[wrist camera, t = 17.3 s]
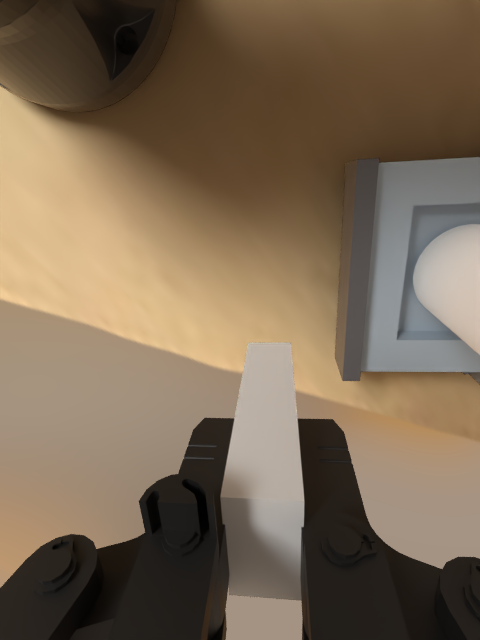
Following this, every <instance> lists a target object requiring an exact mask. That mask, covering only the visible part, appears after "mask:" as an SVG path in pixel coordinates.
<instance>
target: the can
mask: <svg viewBox="0 0 480 640" xmlns="http://www.w3.org/2000/svg"><path fill="white" fill-rule="evenodd" d="M413 286H414V290H415V293H416V296H417V298H418V300H419V301H420V303H421V304H422V305H423V306H424V307H425V308H426V309H427V310H428V311H429V312H431V313H432V314H433V315H434V316H435V317H436V318H437V319H439V320H440V321H441V322H442V323H443V324H444V325H445V326H447V327H448V328H449V329H450V330H451V331H452V332H454V333H455V334H456V335H457V336H458V337H459V338H460V339H462V340H463V341H464V342H465V343H466V344H467V345H469V346H470V347H471V348H472V349H473V350H474V351H476V352H477V353H478V354H479V355H480V224H468V225H462V226H458V227H455V228H452V229H450V230H448V231H446V232H444V233H442V234H441V235H439V236H438V237H436V238H435V239H434V240H433V241H431V242H430V243H429V244H428V246H427V247H426V248H425V249H424V250H423V252H422V253H421V255H420V257H419V258H418V261H417V263H416V266H415V269H414V274H413Z"/></svg>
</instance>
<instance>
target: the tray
mask: <svg viewBox="0 0 480 640" xmlns="http://www.w3.org/2000/svg"><path fill="white" fill-rule="evenodd" d="M468 224H480V157H470V158H453V159H435V160H418V161H400V162H383V163H379V158H375V159H358V160H354V161H350V162H346V166H345V184H344V202H343V220H342V238H341V256H340V273H339V291H338V309H337V327H336V345H335V359H336V362H337V365H338V369H339V372H340V375H341V378H342V381H360V373H361V371H373V372H480V355H479V354H478V353H477V352H476V351H474V350H473V349H472V348H471V347H470V346H469V345H467V344H466V343H465V342H464V341H463V340H462V339H460V338H459V337H458V336H457V335H456V334H455V333H454V332H452V331H451V330H450V329H449V328H448V327H447V326H445V325H444V324H443V323H442V322H441V321H440V320H439V319H437V318H436V317H435V316H434V315H433V314H432V313H431V312H429V311H428V310H427V309H426V308H425V307H424V306H423V305H422V304H421V303H420V301H419V300H418V298H417V296H416V293H415V290H414V286H413V274H414V269H415V266H416V263H417V261H418V258H419V257H420V255H421V253H422V252H423V250H424V249H425V248H426V247H427V246H428V244H429V243H430V242H431V241H433V240H434V239H435V238H436V237H438V236H439V235H441V234H442V233H444V232H446V231H448V230H450V229H452V228H455V227H458V226H462V225H468Z"/></svg>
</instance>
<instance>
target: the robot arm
mask: <svg viewBox="0 0 480 640" xmlns="http://www.w3.org/2000/svg"><path fill="white" fill-rule="evenodd" d="M176 1H177V0H0V86H1V87H2V88H4V89H6V90H8V91H9V92H11V93H13V94H15V95H17V96H19V97H21V98H23V99H26V100H28V101H31V102H34V103H37V104H41V105H44V106H47V107H50V108H53V109H57V110H62V111H69V112H86V111H93V110H97V109H101V108H104V107H107V106H109V105H112V104H114V103H116V102H118V101H120V100H121V99H123V98H124V97H126V96H127V95H129V94H130V93H131V92H132V91H134V90H135V89H136V88H137V87H138V86H139V85H140V84H141V83H142V82H143V81H144V79H145V78H146V77H147V76H148V74H149V73H150V72H151V70H152V69H153V67H154V66H155V64H156V63H157V61H158V59H159V57H160V55H161V53H162V51H163V49H164V47H165V44H166V42H167V39H168V36H169V33H170V30H171V27H172V23H173V18H174V14H175V8H176ZM139 504H140V509H141V514H142V518H143V523H144V528H145V533H144V534H142V535H141V536H139V537H138V538H134V539H132V540H129V541H126V542H122V543H118V544H115V545H111V546H107V547H103V548H99V549H96V547H95V545H94V542H93V541H91V540H90V539H88V538H87V537H86V536H84V535H74V534H70V535H67V536H62V537H58V538H55V539H54V540H52V541H50V542H48V543H46V544H45V545H43V546H41V547H40V548H39V549H38V550H36V551H35V552H34V553H33V554H32V555H31V556H30V557H28V558H27V559H26V560H25V561H24V563H23V564H22V565H21V566H20V567H19V568H18V569H17V570H16V572H15V573H14V574H13V575H12V576H11V577H10V578H9V579H8V580H7V581H6V582H5V584H4V585H3V586H2V587H1V588H0V640H225V639H226V630H227V628H226V613H225V608H226V600H227V592H228V586H229V595H237V596H250V597H263V598H276V599H289V600H301V601H302V615H303V624H302V625H303V626H302V640H480V559H479V558H476V557H457V558H455V559H453V560H451V561H448V562H446V564H445V566H444V568H443V569H440V568H437V567H434V566H431V565H429V564H426V563H423V562H421V561H418V560H415V559H412V558H410V557H408V556H405V555H403V554H401V553H399V552H397V551H396V550H394V549H393V548H391V547H390V546H388V545H387V544H386V543H385V542H383V540H382V539H381V538H379V537H378V535H376V533H375V532H374V530H373V529H372V527H371V526H370V524H369V522H368V519H367V516H366V513H365V510H364V506H363V502H362V498H361V495H360V491H359V488H358V483H357V479H356V476H355V472H354V468H353V465H352V463H351V457H350V453H349V451H348V446H347V442H346V439H345V434H344V432H343V431H342V430H341V428H340V427H339V426H338V425H337V424H336V423H335V422H334V420H333V419H297V408H296V397H295V384H294V372H293V360H292V349H291V343H248V347H247V353H246V358H245V364H244V369H243V375H242V380H241V386H240V391H239V397H238V403H237V408H236V414H235V419H230V418H204V419H203V420H202V421H201V422H200V423H199V424H198V425H197V427H196V428H195V429H194V430H193V432H192V435H191V438H190V441H189V446H188V447H187V450H186V453H185V456H184V459H183V462H182V465H181V467H180V470H179V474H175V475H170V476H168V477H165V478H163V479H161V480H158V481H157V482H156V483H154V484H153V485H152V486H150V487H149V488H148V489H147V490H146V491H145V493H144V495H143V496H142V497H141V499H140V500H139Z"/></svg>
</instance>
